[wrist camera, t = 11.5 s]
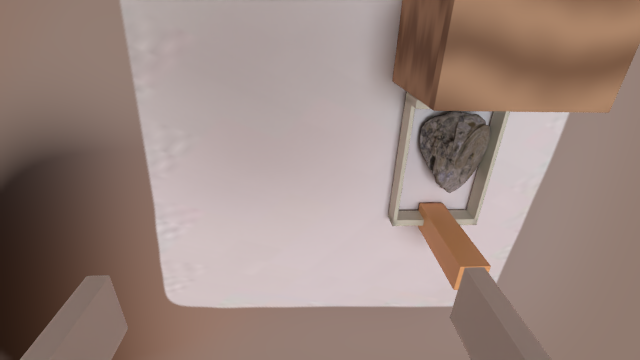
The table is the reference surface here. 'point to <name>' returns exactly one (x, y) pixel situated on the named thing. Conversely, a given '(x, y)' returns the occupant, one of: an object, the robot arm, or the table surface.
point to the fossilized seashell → (454, 147)
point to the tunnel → (516, 53)
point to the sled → (434, 217)
